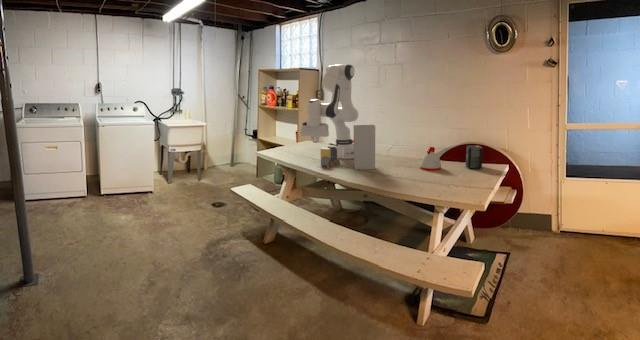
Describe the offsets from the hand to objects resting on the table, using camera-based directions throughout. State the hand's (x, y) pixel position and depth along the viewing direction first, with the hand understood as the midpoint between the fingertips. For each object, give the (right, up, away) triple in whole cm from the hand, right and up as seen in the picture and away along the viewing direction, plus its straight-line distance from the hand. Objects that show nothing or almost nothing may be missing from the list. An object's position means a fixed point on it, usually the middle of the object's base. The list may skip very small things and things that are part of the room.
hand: (315, 142), depth 293 cm
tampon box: (+109, -18, -7) cm, 110 cm away
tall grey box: (+34, -18, -2) cm, 39 cm away
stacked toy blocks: (+8, -17, +7) cm, 20 cm away
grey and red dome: (+79, -18, -7) cm, 81 cm away
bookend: (+8, -17, +3) cm, 18 cm away
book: (+7, -16, +7) cm, 19 cm away
